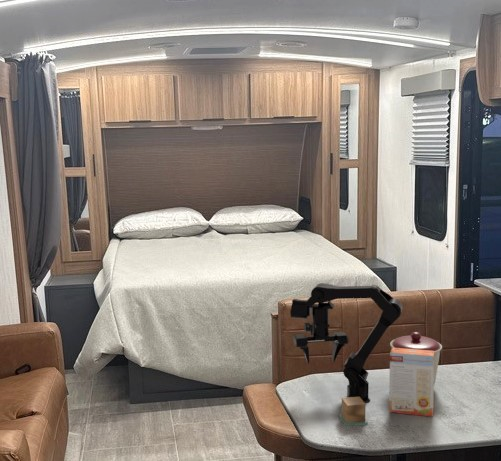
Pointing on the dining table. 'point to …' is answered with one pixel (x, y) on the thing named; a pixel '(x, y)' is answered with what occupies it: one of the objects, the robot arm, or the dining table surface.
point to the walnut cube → (353, 409)
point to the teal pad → (352, 423)
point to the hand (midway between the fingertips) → (320, 362)
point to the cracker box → (412, 381)
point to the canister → (419, 346)
